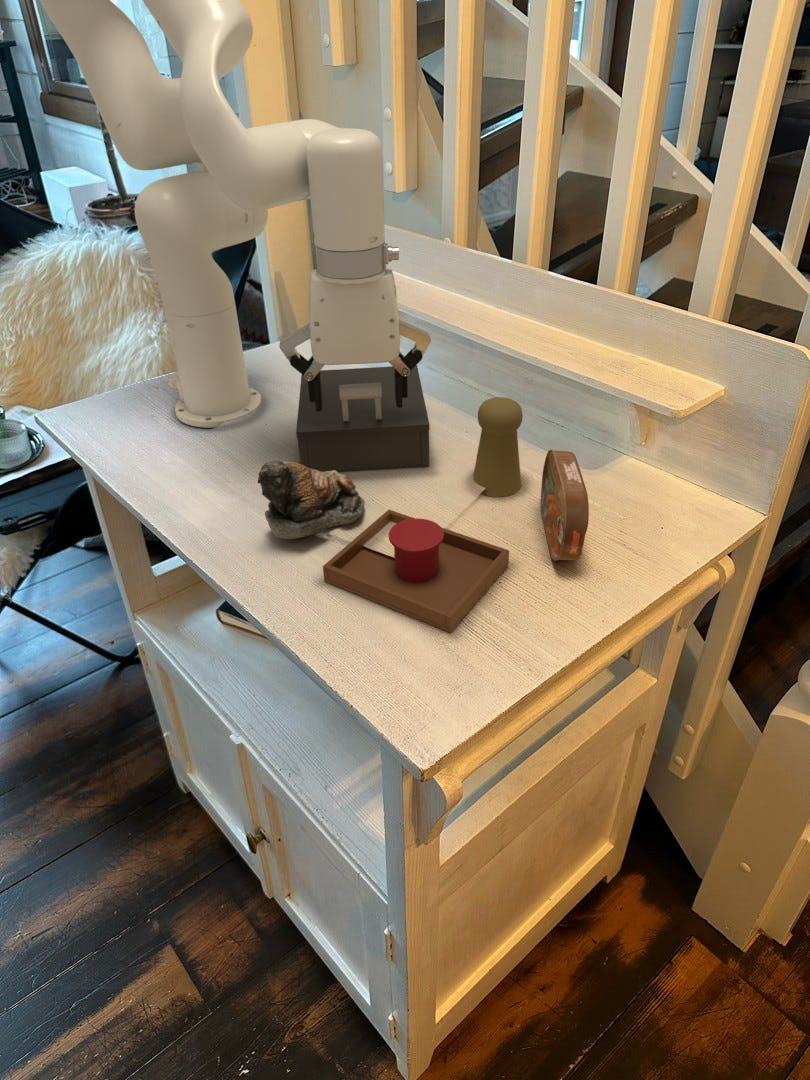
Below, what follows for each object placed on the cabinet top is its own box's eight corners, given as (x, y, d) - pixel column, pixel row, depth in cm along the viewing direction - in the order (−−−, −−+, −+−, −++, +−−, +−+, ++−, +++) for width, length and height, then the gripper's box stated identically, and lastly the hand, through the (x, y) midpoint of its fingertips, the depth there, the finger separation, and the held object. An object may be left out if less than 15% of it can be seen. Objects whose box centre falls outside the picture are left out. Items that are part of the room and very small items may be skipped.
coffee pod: (379, 574, 79) (377, 539, 76) (408, 547, 82) (407, 512, 80) (426, 592, 76) (425, 556, 74) (453, 562, 80) (453, 528, 77)
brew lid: (429, 430, 91) (429, 388, 88) (296, 438, 91) (291, 396, 88) (417, 370, 106) (416, 332, 103) (302, 376, 105) (298, 339, 102)
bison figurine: (347, 498, 92) (340, 424, 86) (378, 525, 87) (374, 448, 81) (257, 533, 86) (243, 456, 80) (285, 563, 81) (273, 484, 76)
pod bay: (429, 473, 96) (428, 427, 92) (302, 480, 95) (297, 434, 91) (418, 412, 110) (417, 370, 106) (307, 419, 109) (302, 377, 105)
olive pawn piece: (519, 499, 90) (525, 415, 84) (469, 494, 91) (471, 412, 85) (523, 473, 95) (529, 392, 89) (475, 469, 96) (477, 389, 90)
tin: (538, 498, 90) (543, 435, 86) (564, 497, 90) (571, 435, 85) (554, 577, 78) (561, 509, 73) (584, 577, 78) (594, 509, 73)
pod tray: (324, 581, 79) (322, 566, 78) (389, 523, 87) (388, 509, 86) (450, 633, 72) (450, 617, 71) (508, 565, 80) (509, 550, 79)
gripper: (427, 247, 85) (427, 388, 95) (272, 253, 84) (288, 394, 94) (434, 267, 79) (433, 415, 89) (267, 274, 78) (285, 422, 88)
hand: (359, 404), depth 92 cm, fingers open, 9 cm apart
